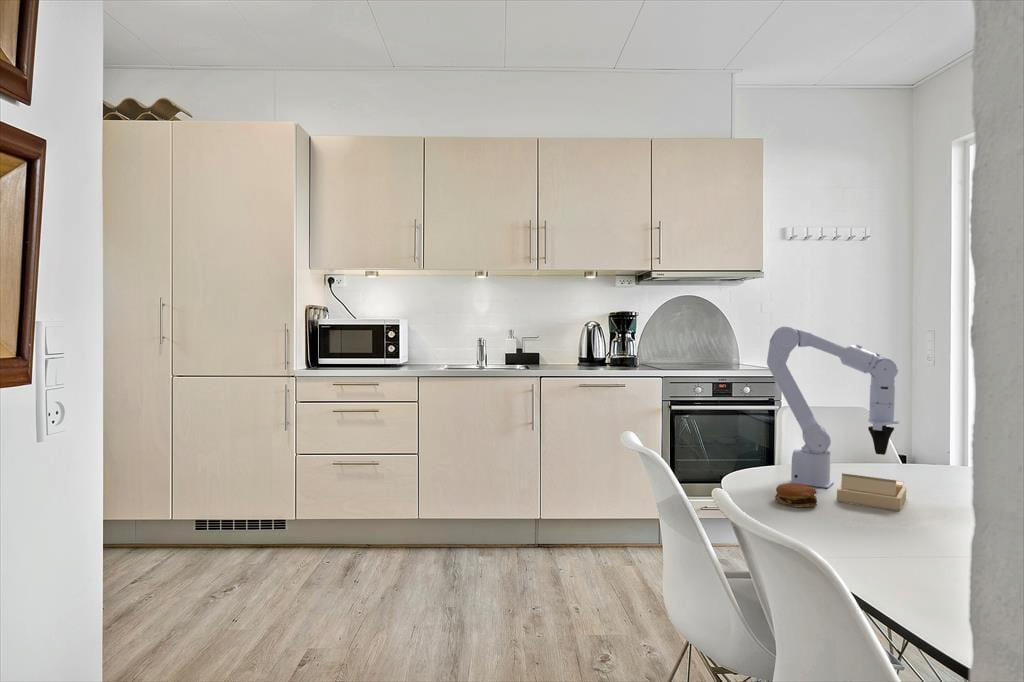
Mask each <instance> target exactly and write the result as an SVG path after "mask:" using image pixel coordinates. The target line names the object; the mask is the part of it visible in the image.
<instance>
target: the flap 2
mask: <svg viewBox="0 0 1024 682" xmlns="http://www.w3.org/2000/svg"><path fill="white" fill-rule="evenodd" d="M859 476H861V475H860V474H859ZM873 477H874V478H876V477H875V476H873ZM888 479H889V478H888ZM889 480H891V479H889ZM895 480H896V485H897V486H904V484H905V481H904V480H897V479H895Z"/></svg>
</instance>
